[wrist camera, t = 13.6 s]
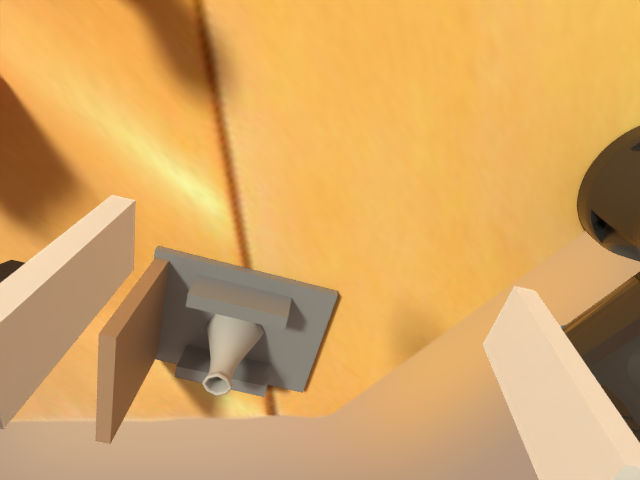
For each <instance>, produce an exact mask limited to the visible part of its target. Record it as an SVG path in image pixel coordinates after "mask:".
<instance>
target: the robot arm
mask: <svg viewBox="0 0 640 480" xmlns="http://www.w3.org/2000/svg"><path fill="white" fill-rule="evenodd" d="M577 208H578V215H579V218H580V221H581V224H582V225H583V227H584V229H585V230H586V232H587V233H588V234H589V235H590V236H591V237H593V238H594V239H595V240H596V241H597V242H598V243H599V244H600V245H602V246H603V247H604V248H606V249H608V250H609V251H611V252H613V253H616V254H618V255H621V256H624V257H627V258H630V259H633V260H637V261H640V126H638V127H636V128H634V129H632V130H630V131H628V132H627V133H625V134H623V135H622V136H620V137H619V138H617V139H616V140H615V141H614V142H612V143H611V144H610V145H609V146H608V147H606V148H605V149H604V150H603V151H602V152H601V153H600V154H599V156H598V157H597V158H596V159H595V160H594V162H593V163H592V164H591V166H590V167H589V169H588V171H587V172H586V174H585V176H584V178H583V181H582V183H581V186H580V189H579V193H578V201H577ZM134 241H135V200H133V199H128V198H124V197H119V196H115V195H111V196H110V197H109V198H107V199H106V200H105V201H103V202H102V203H101V204H100V205H98V206H97V207H96V208H95V209H93V210H92V211H91V212H90V213H88V214H87V215H86V216H85V217H83V218H82V219H81V220H79V221H78V222H77V223H76V224H74V225H73V226H72V227H71V228H69V229H68V230H67V231H66V232H64V233H63V234H62V235H60V236H59V237H58V238H57V239H55V240H54V241H53V242H52V243H50V244H49V245H48V246H47V247H45V248H44V249H43V250H42V251H40V252H39V253H38V254H36V255H35V256H34V257H33V258H31V259H30V260H29V261H28V262H26V263H24V262H19V261H15V260H10V261H7V262H5V263H2V264H0V429H4V428H5V427H6V426H7V424H8V423H9V422H10V421H11V420H12V418H13V417H14V416H15V415H16V413H17V412H18V411H19V410H20V409H21V407H22V406H23V405H24V404H25V402H26V401H27V400H28V399H29V397H30V396H31V395H32V394H33V393H34V391H35V390H36V389H37V388H38V386H39V385H40V384H41V383H42V381H43V380H44V379H45V378H46V377H47V375H48V374H49V373H50V372H51V370H52V369H53V368H54V367H55V366H56V364H57V363H58V362H59V361H60V359H61V358H62V357H63V356H64V354H65V353H66V352H67V351H68V350H69V348H70V347H71V346H72V345H73V343H74V342H75V341H76V340H77V339H78V337H79V336H80V335H81V334H82V332H83V331H84V330H85V329H86V327H87V326H88V325H89V324H90V323H91V321H92V320H93V319H94V318H95V316H96V315H97V314H98V313H99V312H100V310H101V309H102V308H103V307H104V305H105V304H106V303H107V302H108V300H109V299H110V298H111V297H112V296H113V294H114V293H115V292H116V291H117V289H118V288H119V287H120V286H121V285H122V283H123V282H124V281H125V280H126V278H127V277H128V276H129V275H130V273H131V272H132V271H133V270H134ZM483 347H484V349H485V352H486V354H487V356H488V359H489V361H490V364H491V366H492V369H493V371H494V374H495V376H496V378H497V381H498V383H499V385H500V388H501V390H502V393H503V395H504V398H505V400H506V402H507V404H508V407H509V409H510V412H511V414H512V417H513V419H514V422H515V424H516V426H517V429H518V431H519V434H520V436H521V438H522V441H523V443H524V446H525V448H526V451H527V453H528V455H529V457H530V460H531V462H532V465H533V467H534V470H535V472H536V475H537V477H538V479H539V480H640V272H639V273H637V274H636V275H634V276H633V277H632V278H630V279H629V280H627V281H626V282H625V283H624V284H622V285H621V286H619V287H618V288H617V289H615V290H614V291H613V292H611V293H610V294H609V295H607V296H606V297H604V298H603V299H602V300H601V301H599V302H598V303H596V304H595V305H593V306H592V307H591V308H589V309H588V310H586V311H585V312H584V313H583V314H581V315H579V316H578V317H577V318H575V319H574V320H572V321H571V322H570V323H568V324H567V325H564V326H561V327H560V326H559V324H558V323H557V322H556V320H555V319H554V317H553V316H552V314H551V313H550V311H549V310H548V308H547V307H546V305H545V304H544V302H543V301H542V300H541V298H540V297H539V296H538V294H537V292H536V291H535V290H530V289H526V288H521V287H517V286H514V288H513V290H512V292H511V293H510V295H509V297H508V299H507V301H506V303H505V305H504V306H503V308H502V310H501V312H500V314H499V315H498V317H497V319H496V321H495V323H494V325H493V326H492V328H491V330H490V332H489V334H488V336H487V338H486V339H485V341H484V343H483Z"/></svg>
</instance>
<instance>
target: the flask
mask: <svg viewBox="0 0 640 480" xmlns="http://www.w3.org/2000/svg"><path fill="white" fill-rule="evenodd" d="M207 332H208V339H209V347H210V357H211V361H210V369H209V373H208V375H207V377H206V378H205V379H204V381H203V382H202V385H203V386H204V388H205V389H206V391H207V392H209V393H211V394H213V395H215V396H219V395H224V394H227V393H228V392H229V390H230V389H231V388H232V383H231V380H232V376H233V374H234V372H235V370H236V368H237V366H238V365H239V363H240V362H241V360H242V359H243V358H244V357H245V355H246V354H247V353H248V352H249V351H250V350H251V349H252V347H253V346H254V345H255V344H256V343H257V341H258V340H259V339H260V338H261V337H262V335H263V334H264V331H263V329H262V327H261V325H260V324H256V323H252V322H248V321H244V320H240V319H235V318H231V317H227V316H223V315H219V314H214V316H213V317H212V318H211V320H210V321H209V323H208V324H207Z"/></svg>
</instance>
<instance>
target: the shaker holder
mask: <svg viewBox="0 0 640 480" xmlns="http://www.w3.org/2000/svg"><path fill="white" fill-rule="evenodd" d="M337 296H338V291H335V290H331V289H327V288H323V287H319V286H315V285H311V284H308V283H304V282H300V281H296V280H292V279H288V278H284V277H280V276H276V275H272V274H268V273H264V272H260V271H256V270H252V269H248V268H244V267H240V266H236V265H232V264H228V263H224V262H220V261H216V260H212V259H208V258H204V257H200V256H196V255H192V254H188V253H184V252H180V251H176V250H172V249H168V248H164V247H161V246H158V247H157V248H156V249H155V255H154V260H153V262H152V263H151V265H150V266H149V267H148V269H147V270H146V271H145V273H144V274H143V275H142V277H141V278H140V279H139V281H138V282H137V283H136V285H135V286H134V287H133V289H132V290H131V291H130V293H129V294H128V295H127V297H126V298H125V299H124V301H123V302H122V303H121V305H120V306H119V307H118V309H117V310H116V312H115V313H114V314H113V316H112V317H111V318H110V320H109V321H108V322H107V324H106V325H105V326H104V328H103V329H102V330H101V332H100V333H99V346H98V380H97V414H96V441H99V442H104V443H109V444H110V443H111V442H112V440H113V438H114V436H115V434H116V432H117V430H118V428H119V426H120V425H121V423H122V421H123V419H124V417H125V415H126V413H127V411H128V409H129V408H130V406H131V404H132V402H133V400H134V398H135V396H136V394H137V392H138V391H139V389H140V387H141V385H142V383H143V381H144V379H145V377H146V376H147V374H148V372H149V370H150V368H151V366H152V364H153V362H154V360H155V359H157V360H162V361H166V362H171V363H175V364H177V367H176V374H175V377H177V378H182V379H186V380H191V381H195V382H200V383H202V382H203V381H204V379H205V378H206V377H207V375H208V373H209V369H210V361H211V357H210V347H209V339H208V332H207V324H208V323H209V321H210V320H211V318H212V317H213V316H214V314H219V315H223V316H227V317H231V318H235V319H240V320H244V321H248V322H252V323H256V324H260V325H261V327H262V329H263V331H264V334H263V335H262V337H261V338H260V339H259V340H258V341H257V343H256V344H255V345H254V346H253V347H252V349H251V350H250V351H249V352H248V353H247V354H246V355H245V357H244V358H243V359H242V360H241V362H240V363H239V365H238V366H237V368H236V370H235V372H234V374H233V376H232V380H231V383H232V388H231V390H235V391H240V392H244V393H249V394H253V395H257V396H262V397H264V396H265V393H266V389H267V386H268V385H271V386H276V387H280V388H285V389H289V390H293V391H298V392H302V393H303V390H304V387H305V385H306V382H307V379H308V376H309V374H310V371H311V368H312V365H313V363H314V360H315V357H316V354H317V352H318V349H319V346H320V343H321V341H322V338H323V335H324V332H325V330H326V327H327V324H328V321H329V319H330V316H331V313H332V310H333V308H334V305H335V302H336V299H337Z"/></svg>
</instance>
